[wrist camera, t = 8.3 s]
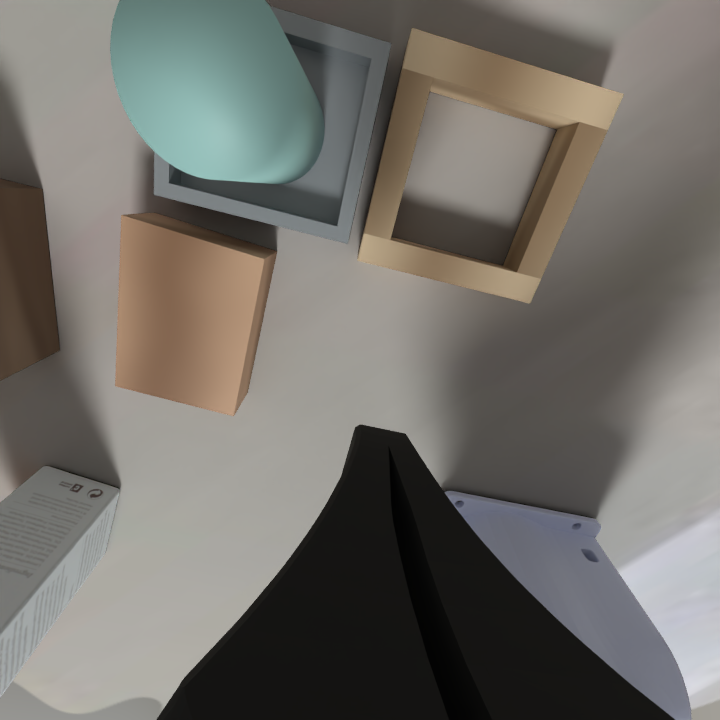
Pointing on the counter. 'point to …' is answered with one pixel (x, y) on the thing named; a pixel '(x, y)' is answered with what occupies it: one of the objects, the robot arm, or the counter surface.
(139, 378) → the tan cardboard block
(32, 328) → the stop block
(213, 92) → the teal capsule
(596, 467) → the counter surface
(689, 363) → the counter surface
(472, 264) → the socket block
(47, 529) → the skincare box
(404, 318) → the counter surface
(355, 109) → the tray
